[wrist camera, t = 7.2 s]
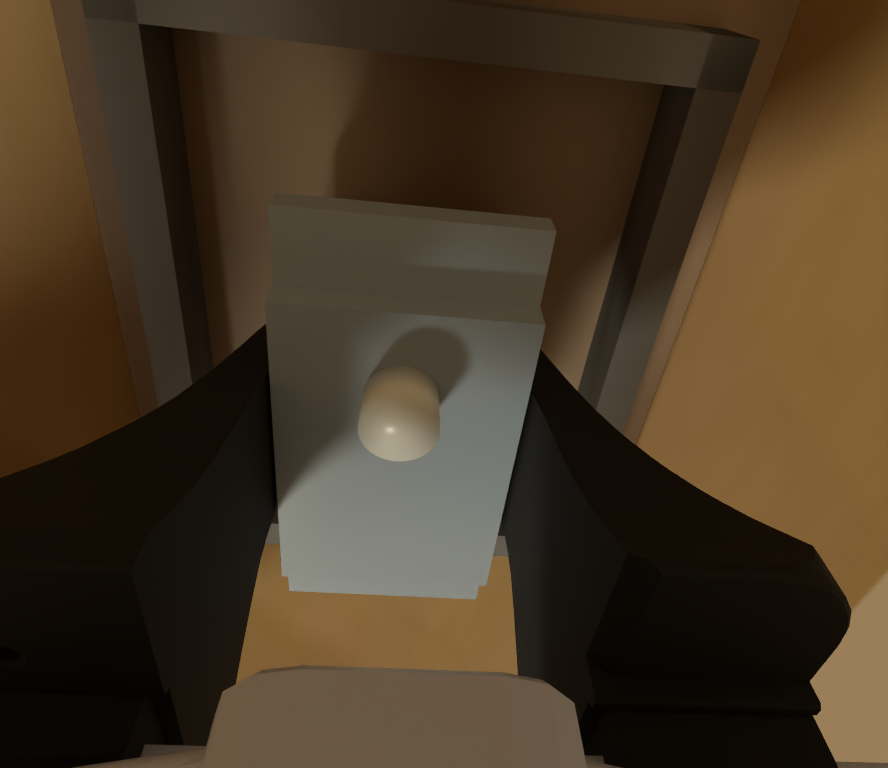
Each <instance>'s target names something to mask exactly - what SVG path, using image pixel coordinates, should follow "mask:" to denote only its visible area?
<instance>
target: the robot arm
mask: <svg viewBox="0 0 888 768" xmlns="http://www.w3.org/2000/svg"><path fill="white" fill-rule="evenodd" d="M277 505H278V503H277V488H276V472H275V456H274V440H273V425H272V409H271V393H270V377H269V362H268V346H267V330H266V324H265V325H264V326H262V327H261V328H260V329H259V330H258V331H256V332H255V333H254V334H253V335H252V336H251V337H250V338H249V339H247V340H246V341H245V342H244V343H243V344H242V345H241V346H240V347H238V348H237V349H236V350H235V351H234V352H233V353H231V354H230V355H229V356H228V357H227V358H225V359H224V360H223V361H222V362H221V363H219V364H218V365H217V366H216V367H215V368H213V369H212V370H211V371H210V372H208V373H207V374H206V375H204V376H203V377H202V378H200V379H199V380H198V381H196V382H195V383H194V384H192V385H191V386H189V387H188V388H187V389H185V390H184V391H183V392H181V393H180V394H178V395H177V396H175V397H174V398H172V399H171V400H169V401H168V402H166V403H165V404H163V405H161V406H160V407H158V408H157V409H155V410H153V411H151V412H150V413H148V414H146V415H144V416H143V417H141V418H139V419H138V420H136V421H134V422H132V423H130V424H128V425H126V426H124V427H122V428H120V429H118V430H116V431H114V432H112V433H110V434H108V435H106V436H104V437H102V438H100V439H98V440H95V441H93V442H91V443H89V444H87V445H85V446H83V447H81V448H78V449H76V450H74V451H71V452H69V453H66V454H64V455H62V456H59V457H57V458H54V459H52V460H49V461H47V462H44V463H41V464H38V465H36V466H33V467H30V468H28V469H25V470H22V471H19V472H17V473H14V474H11V475H8V476H5V477H2V478H0V768H888V763H862V762H835V760H834V758H833V756H832V754H831V752H830V750H829V747H828V746H827V743H826V741H825V739H824V738H823V735H822V733H821V731H820V729H819V727H818V725H817V723H816V721H815V719H814V717H813V715H817V714H818V713H819V712H820V711H821V703H820V701H819V699H818V697H817V695H816V693H815V692H814V689H813V688H812V686H811V683H810V680H811V679H812V678H813V676H814V675H815V674H816V673H817V671H818V670H819V669H820V668H821V666H822V665H823V664H824V663H825V662H826V660H827V659H828V658H829V657H830V655H831V654H832V653H833V652H834V650H835V649H836V648H837V647H838V645H839V644H840V642H841V640H842V638H843V637H844V635H845V634H846V632H847V630H848V627H849V624H850V617H851V609H850V606H849V604H848V601H847V598H846V596H845V595H844V593H843V592H842V590H841V589H840V587H839V585H838V584H837V582H836V581H835V579H834V578H833V576H832V574H831V573H830V571H829V570H828V568H827V567H826V565H825V563H824V562H823V560H822V559H821V557H820V556H819V554H818V553H817V551H816V550H815V548H814V547H813V546H812V545H810V544H807V543H805V542H803V541H801V540H799V539H796V538H794V537H792V536H790V535H788V534H785V533H783V532H781V531H779V530H777V529H774V528H772V527H770V526H768V525H765V524H763V523H761V522H759V521H757V520H755V519H753V518H751V517H749V516H747V515H745V514H743V513H741V512H739V511H737V510H735V509H734V508H732V507H730V506H728V505H726V504H724V503H722V502H721V501H719V500H717V499H715V498H713V497H712V496H710V495H708V494H707V493H705V492H703V491H701V490H700V489H698V488H696V487H695V486H693V485H692V484H690V483H689V482H687V481H686V480H684V479H682V478H681V477H679V476H678V475H676V474H675V473H673V472H672V471H670V470H669V469H667V468H666V467H664V466H663V465H661V464H660V463H659V462H657V461H656V460H654V459H653V458H652V457H650V456H649V455H648V454H647V453H645V452H644V451H643V450H641V449H640V448H639V447H638V446H636V445H635V444H634V443H632V442H631V441H630V440H629V439H627V438H626V437H625V436H624V435H623V434H622V433H620V432H619V431H618V430H617V429H616V428H615V427H614V426H613V425H611V424H610V423H609V422H608V421H607V420H606V419H605V418H604V417H603V416H602V415H601V414H600V413H599V412H598V411H596V410H595V409H594V408H593V407H592V406H591V405H590V404H589V403H588V402H587V401H586V399H585V398H584V397H583V396H582V395H581V394H580V393H579V392H578V391H577V390H576V389H575V388H574V387H573V386H572V385H571V383H570V382H569V381H568V380H567V379H566V378H565V377H564V376H563V374H562V373H561V372H560V371H559V370H558V369H557V368H556V366H555V365H554V364H553V363H552V362H551V361H550V359H549V358H548V357H547V356H546V355H545V354H544V352H543V351H542V350H541V349H540V352H539V357H538V361H537V365H536V370H535V374H534V378H533V383H532V387H531V391H530V396H529V400H528V405H527V409H526V413H525V418H524V422H523V426H522V431H521V435H520V439H519V444H518V448H517V453H516V457H515V461H514V466H513V470H512V474H511V479H510V483H509V488H508V492H507V496H506V501H505V505H504V509H503V514H502V518H501V519H502V524H503V530H504V535H505V540H506V545H507V551H508V557H509V564H510V571H511V581H512V593H513V606H514V619H515V634H516V650H517V666H518V675H514V674H509V673H503V672H475V671H447V670H419V669H391V668H363V667H335V666H308V665H303V666H294V667H285V668H276V669H267V670H261V671H259V672H257V673H256V674H254V675H252V676H250V677H248V678H246V679H244V680H243V681H241V682H239V683H237V684H236V679H237V673H238V668H239V663H240V657H241V652H242V647H243V642H244V637H245V632H246V627H247V621H248V616H249V611H250V606H251V601H252V597H253V592H254V587H255V582H256V578H257V573H258V568H259V563H260V559H261V556H262V552H263V549H264V545H265V541H266V538H267V535H268V532H269V529H270V526H271V523H272V520H273V517H274V514H275V511H276V508H277Z"/></svg>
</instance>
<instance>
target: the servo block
mask: <svg viewBox="0 0 888 768" xmlns="http://www.w3.org/2000/svg"><path fill="white" fill-rule="evenodd" d="M268 212H269V231H270V249H271V267H272V286H271V289H270V291H269V293H268V296H267V298H266V300H265V315H266V330H267V346H268V362H269V377H270V393H271V409H272V425H273V440H274V456H275V472H276V488H277V503H278V519H279V535H280V551H281V566H282V576H288V578H289V591H304V592H326V593H349V594H371V595H393V596H415V597H437V598H460V599H476V597H477V593H478V588H479V585H482V586H486V584H487V579H488V575H489V570H490V566H491V562H492V557H493V553H494V549H495V544H496V540H497V536H498V531H499V527H500V522H501V518H502V514H503V509H504V505H505V501H506V496H507V492H508V488H509V483H510V479H511V474H512V470H513V466H514V461H515V457H516V453H517V448H518V444H519V439H520V435H521V431H522V426H523V422H524V418H525V413H526V409H527V405H528V400H529V396H530V391H531V387H532V383H533V378H534V374H535V370H536V365H537V361H538V357H539V352H540V348H541V343H542V339H543V335H544V330H545V326H546V324H545V321H544V318H543V314H542V311H541V308H540V305H541V300H542V296H543V291H544V287H545V282H546V277H547V273H548V268H549V264H550V259H551V255H552V250H553V245H554V241H555V236H556V232H557V231H556V229H555V227H554V225H553V222H552V220H551V219H550V218H540V217H529V216H519V215H508V214H498V213H488V212H477V211H467V210H456V209H446V208H435V207H425V206H414V205H404V204H393V203H383V202H372V201H362V200H351V199H341V198H330V197H320V196H309V195H299V194H288V193H278V192H275V193H274V195H273V197H272V199H271V200H270V202H269V204H268Z"/></svg>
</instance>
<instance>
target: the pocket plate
mask: <svg viewBox="0 0 888 768" xmlns="http://www.w3.org/2000/svg"><path fill="white" fill-rule="evenodd" d="M50 1H51V6H52V11H53V15H54V20H55V24H56V29H57V34H58V38H59V43H60V48H61V52H62V57H63V62H64V66H65V71H66V76H67V80H68V85H69V90H70V94H71V99H72V103H73V108H74V113H75V117H76V122H77V127H78V131H79V136H80V141H81V145H82V150H83V155H84V159H85V164H86V169H87V173H88V178H89V182H90V187H91V192H92V196H93V201H94V206H95V210H96V215H97V220H98V224H99V229H100V234H101V238H102V243H103V248H104V252H105V257H106V262H107V266H108V271H109V275H110V280H111V285H112V289H113V294H114V299H115V303H116V308H117V313H118V317H119V322H120V327H121V331H122V336H123V341H124V345H125V350H126V354H127V359H128V364H129V368H130V373H131V378H132V382H133V387H134V392H135V396H136V401H137V406H138V410H139V415H140V418H141V417H143V416H144V415H146V414H148V413H150V412H151V411H153V410H155V409H157V408H158V407H160V406H161V405H163V404H165V403H166V402H168V401H169V400H171V399H172V398H174V397H175V396H177V395H178V394H180V393H181V392H183V391H184V390H185V389H187V388H188V387H189V386H191V385H192V384H194V383H195V382H196V381H198V380H199V379H200V378H202V377H203V376H204V375H206V374H207V373H208V372H210V371H211V370H212V369H213V368H215V367H216V366H217V365H218V364H219V363H221V362H222V361H223V360H224V359H225V358H227V357H228V356H229V355H230V354H231V353H233V352H234V351H235V350H236V349H237V348H238V347H240V346H241V345H242V344H243V343H244V342H245V341H246V340H247V339H249V338H250V337H251V336H252V335H253V334H254V333H255V332H256V331H258V330H259V329H260V328H261V327H262V326H264V325H265V324H266V315H265V300H266V298H267V296H268V293H269V291H270V289H271V286H272V267H271V249H270V231H269V212H268V204H269V202H270V200H271V199H272V197H273V195H274V193H275V192H278V193H288V194H299V195H309V196H320V197H330V198H341V199H351V200H362V201H372V202H383V203H393V204H404V205H414V206H425V207H435V208H446V209H456V210H467V211H477V212H488V213H498V214H508V215H519V216H529V217H540V218H550V219H551V220H552V222H553V225H554V227H555V229H556V231H557V232H556V236H555V241H554V245H553V250H552V255H551V259H550V264H549V268H548V273H547V277H546V282H545V287H544V291H543V296H542V300H541V305H540V308H541V311H542V314H543V318H544V321H545V324H546V326H545V330H544V335H543V339H542V343H541V348H540V349H541V350H542V351H543V352H544V354H545V355H546V356H547V357H548V358H549V359H550V361H551V362H552V363H553V364H554V365H555V366H556V368H557V369H558V370H559V371H560V372H561V373H562V374H563V376H564V377H565V378H566V379H567V380H568V381H569V382H570V383H571V385H572V386H573V387H574V388H575V389H576V390H577V391H578V392H579V393H580V394H581V395H582V396H583V397H584V398H585V399H586V401H587V402H588V403H589V404H590V405H591V406H592V407H593V408H594V409H595V410H596V411H598V412H599V413H600V414H601V415H602V416H603V417H604V418H605V419H606V420H607V421H608V422H609V423H610V424H611V425H613V426H614V427H615V428H616V429H617V430H618V431H619V432H620V433H622V434H623V435H624V436H625V437H626V438H627V439H629V440H630V441H631V442H632V443H634V444H635V445H636V444H637V441H638V438H639V435H640V433H641V430H642V427H643V425H644V422H645V419H646V417H647V414H648V411H649V409H650V406H651V403H652V401H653V398H654V395H655V392H656V390H657V387H658V384H659V382H660V379H661V376H662V374H663V371H664V368H665V366H666V363H667V360H668V358H669V355H670V352H671V349H672V347H673V344H674V341H675V339H676V336H677V333H678V331H679V328H680V325H681V323H682V320H683V317H684V315H685V312H686V309H687V306H688V304H689V301H690V298H691V296H692V293H693V290H694V288H695V285H696V282H697V280H698V277H699V274H700V272H701V269H702V266H703V263H704V261H705V258H706V255H707V253H708V250H709V247H710V245H711V242H712V239H713V237H714V234H715V231H716V229H717V226H718V223H719V220H720V218H721V215H722V212H723V210H724V207H725V204H726V202H727V199H728V196H729V194H730V191H731V188H732V186H733V183H734V180H735V177H736V175H737V172H738V169H739V167H740V164H741V161H742V159H743V156H744V153H745V151H746V148H747V145H748V143H749V140H750V137H751V134H752V132H753V129H754V126H755V124H756V121H757V118H758V116H759V113H760V110H761V108H762V105H763V102H764V100H765V97H766V94H767V91H768V89H769V86H770V83H771V81H772V78H773V75H774V73H775V70H776V67H777V65H778V62H779V59H780V57H781V54H782V51H783V48H784V46H785V43H786V40H787V38H788V35H789V32H790V30H791V27H792V24H793V22H794V19H795V16H796V14H797V11H798V8H799V5H800V3H801V0H50ZM265 544H280V535H279V519H278V505H277V508H276V511H275V514H274V517H273V520H272V523H271V526H270V529H269V532H268V535H267V538H266V541H265ZM493 555H494V556H508V551H507V545H506V540H505V535H504V530H503V524H502V519H501V522H500V527H499V531H498V536H497V540H496V544H495V549H494V553H493Z"/></svg>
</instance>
